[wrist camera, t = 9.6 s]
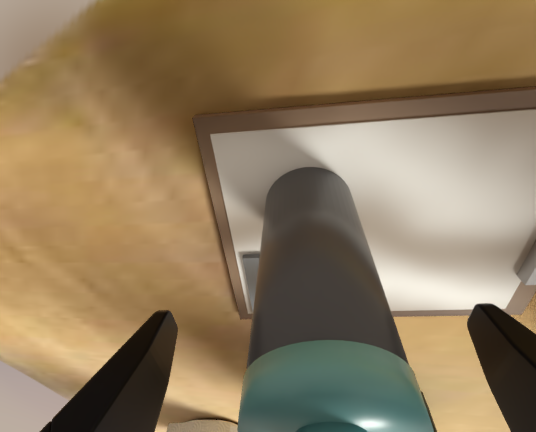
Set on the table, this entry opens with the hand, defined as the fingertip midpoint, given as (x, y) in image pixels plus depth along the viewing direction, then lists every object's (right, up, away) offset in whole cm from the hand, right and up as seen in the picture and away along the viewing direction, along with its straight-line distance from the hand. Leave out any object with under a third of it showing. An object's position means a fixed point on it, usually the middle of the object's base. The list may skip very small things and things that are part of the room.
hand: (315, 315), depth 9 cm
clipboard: (+5, +2, +6) cm, 8 cm away
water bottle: (0, +3, +5) cm, 6 cm away
